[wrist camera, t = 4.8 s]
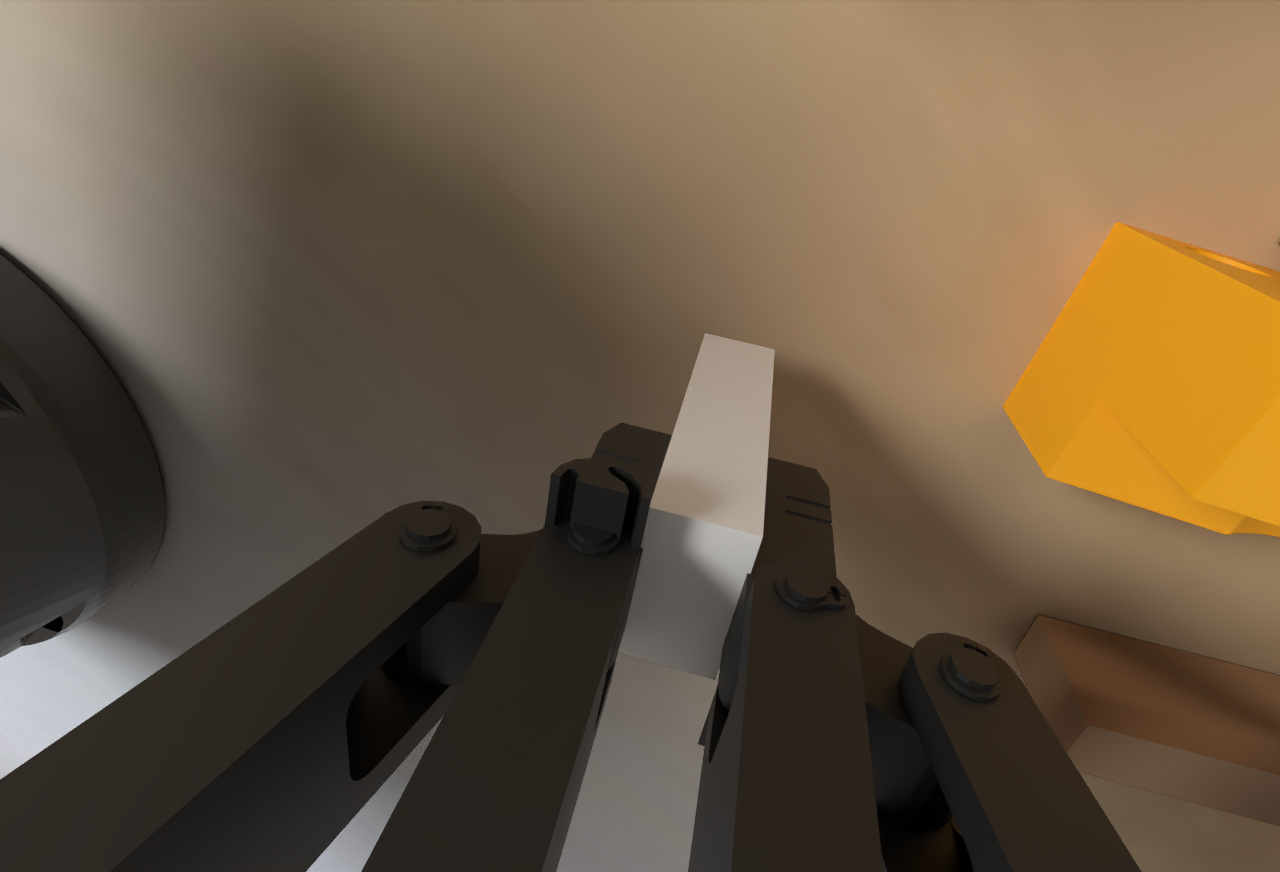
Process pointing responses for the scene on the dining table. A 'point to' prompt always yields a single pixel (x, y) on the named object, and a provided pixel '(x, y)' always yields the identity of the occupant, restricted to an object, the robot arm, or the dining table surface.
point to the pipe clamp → (1163, 384)
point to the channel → (1158, 716)
